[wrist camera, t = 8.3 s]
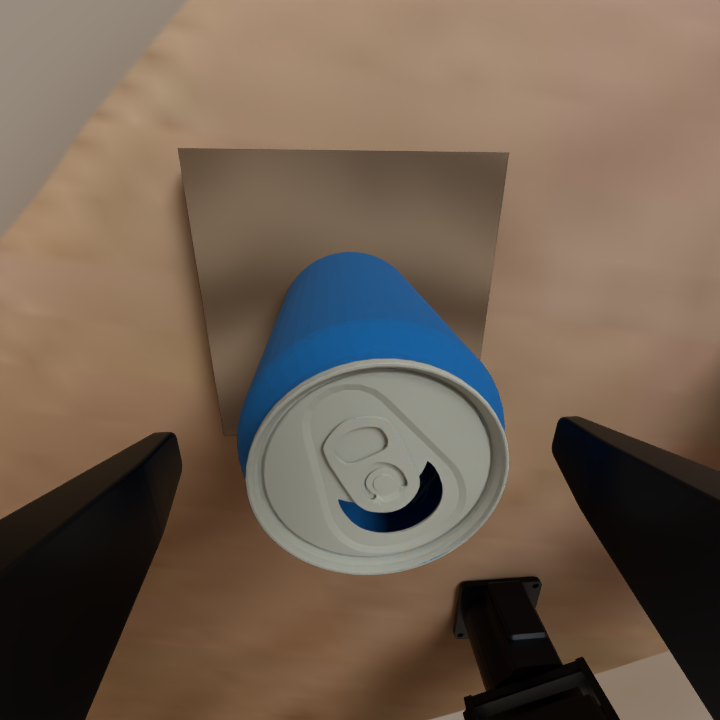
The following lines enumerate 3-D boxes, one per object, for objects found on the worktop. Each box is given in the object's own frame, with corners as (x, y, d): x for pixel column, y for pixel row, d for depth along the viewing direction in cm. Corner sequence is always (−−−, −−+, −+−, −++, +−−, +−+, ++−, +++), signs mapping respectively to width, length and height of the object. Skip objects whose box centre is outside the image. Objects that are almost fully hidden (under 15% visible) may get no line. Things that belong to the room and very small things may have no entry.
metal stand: (459, 408, 24) (470, 425, 22) (232, 416, 23) (224, 435, 21) (491, 156, 19) (508, 152, 17) (193, 152, 18) (177, 148, 16)
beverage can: (321, 393, 21) (316, 620, 10) (258, 287, 18) (154, 431, 7) (432, 342, 20) (560, 525, 9) (382, 224, 18) (475, 279, 7)
